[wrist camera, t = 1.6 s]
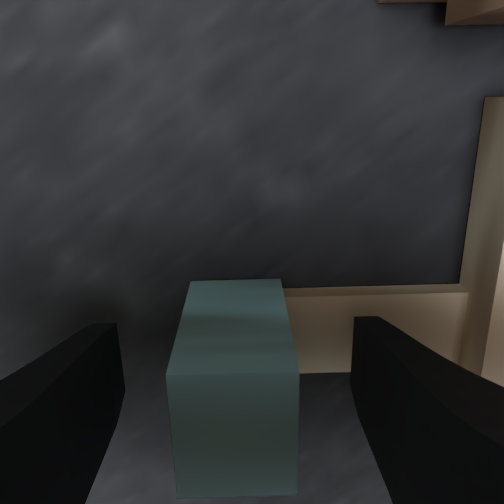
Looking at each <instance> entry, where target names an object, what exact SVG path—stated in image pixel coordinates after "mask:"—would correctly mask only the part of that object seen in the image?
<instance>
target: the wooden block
mask: <svg viewBox="0 0 504 504" xmlns="http://www.w3.org/2000/svg"><path fill="white" fill-rule="evenodd" d="M493 24H504V0H447V8H446V17H445V25H493Z"/></svg>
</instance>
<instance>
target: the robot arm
mask: <svg viewBox="0 0 504 504" xmlns="http://www.w3.org/2000/svg"><path fill="white" fill-rule="evenodd" d="M350 385H351V389H352V394H353V398H354V402H355V406H356V409H357V413H358V417H359V420H360V422H361V425H362V427H363V430H364V432H365V435H366V437H367V440H368V442H369V445H370V447H371V450H372V452H373V455H374V457H375V460H376V462H377V464H378V467H379V469H380V472H381V474H382V477H383V479H384V482H385V484H386V487H387V489H388V491H389V494H390V497H391V500H392V502H393V504H504V387H503V386H500V385H498V384H496V383H494V382H492V381H489V380H487V379H485V378H483V377H481V376H479V375H476V374H474V373H472V372H470V371H468V370H467V369H465V368H463V367H461V366H459V365H457V364H456V363H454V362H452V361H450V360H448V359H446V358H445V357H443V356H441V355H440V354H438V353H436V352H435V351H433V350H431V349H430V348H428V347H426V346H425V345H423V344H422V343H420V342H418V341H417V340H415V339H414V338H412V337H411V336H409V335H408V334H406V333H405V332H403V331H401V330H400V329H398V328H397V327H395V326H394V325H392V324H391V323H389V322H387V321H386V320H384V319H382V318H381V317H379V316H355V317H354V325H353V342H352V359H351V376H350ZM124 394H125V384H124V376H123V369H122V361H121V354H120V346H119V338H118V331H117V323H105V324H92V325H90V326H88V327H86V328H84V329H82V330H81V331H79V332H78V333H76V334H74V335H73V336H71V337H70V338H68V339H67V340H65V341H64V342H62V343H61V344H59V345H58V346H56V347H54V348H53V349H51V350H50V351H48V352H47V353H45V354H44V355H42V356H41V357H39V358H37V359H36V360H34V361H33V362H31V363H29V364H27V365H26V366H24V367H22V368H21V369H19V370H17V371H16V372H14V373H12V374H11V375H9V376H7V377H6V378H4V379H2V380H0V504H85V502H86V500H87V497H88V495H89V492H90V490H91V487H92V485H93V482H94V480H95V478H96V475H97V473H98V470H99V468H100V465H101V463H102V460H103V458H104V456H105V453H106V451H107V448H108V446H109V443H110V441H111V438H112V436H113V433H114V430H115V428H116V425H117V422H118V418H119V414H120V410H121V406H122V402H123V398H124Z"/></svg>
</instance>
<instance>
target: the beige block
mask: <svg viewBox="0 0 504 504" xmlns="http://www.w3.org/2000/svg"><path fill="white" fill-rule="evenodd" d="M430 2H447V0H378V3H430Z"/></svg>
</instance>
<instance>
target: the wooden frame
mask: <svg viewBox="0 0 504 504" xmlns="http://www.w3.org/2000/svg"><path fill="white" fill-rule="evenodd" d="M355 316H379V317H381V318H382V319H384V320H386V321H387V322H389V323H391V324H392V325H394V326H395V327H397V328H398V329H400V330H401V331H403V332H405V333H406V334H408V335H409V336H411V337H412V338H414V339H415V340H417V341H418V342H420V343H422V344H423V345H425V346H426V347H428V348H430V349H431V350H433V351H435V352H436V353H438V354H440V355H441V356H443V357H445V358H446V359H448V360H450V361H452V362H454V363H456V364H457V365H459V366H461V367H463V368H465V369H467V370H468V371H470V372H472V373H474V374H476V375H479V376H481V377H483V378H485V379H487V380H489V381H492V382H494V383H496V384H498V385H500V386H503V387H504V96H503V97H485V102H484V109H483V116H482V123H481V130H480V137H479V145H478V152H477V159H476V166H475V173H474V180H473V188H472V195H471V202H470V209H469V216H468V223H467V231H466V238H465V245H464V252H463V259H462V267H461V274H460V281H459V284H427V285H390V286H353V287H317V288H282V283H281V279H247V280H210V281H191V282H190V286H189V289H188V293H187V297H186V301H185V304H184V308H183V312H182V316H181V319H180V323H179V327H178V330H177V334H176V338H175V342H174V345H173V349H172V353H171V357H170V360H169V364H168V368H167V371H166V375H165V376H166V386H167V397H168V407H169V417H170V428H171V438H172V448H173V459H174V469H175V479H176V490H177V499H190V498H220V497H250V496H281V495H298V440H299V377H300V373H331V372H351V359H352V342H353V325H354V317H355Z"/></svg>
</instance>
